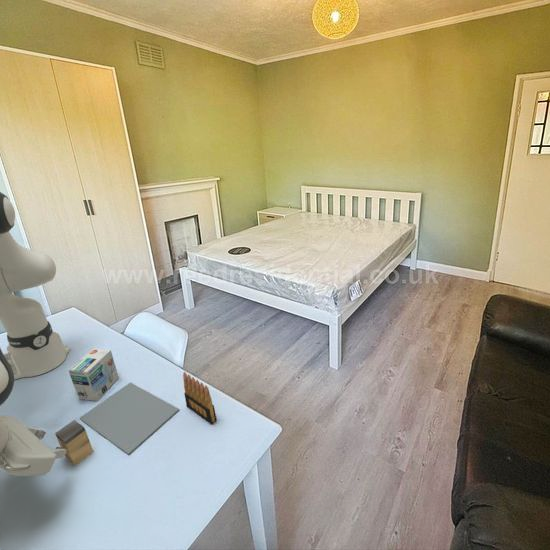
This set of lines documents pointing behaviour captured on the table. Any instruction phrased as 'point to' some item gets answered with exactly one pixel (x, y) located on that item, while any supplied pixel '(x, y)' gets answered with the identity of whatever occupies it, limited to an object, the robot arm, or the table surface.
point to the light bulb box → (94, 374)
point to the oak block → (74, 442)
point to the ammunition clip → (199, 399)
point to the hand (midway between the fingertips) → (53, 443)
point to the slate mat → (129, 417)
